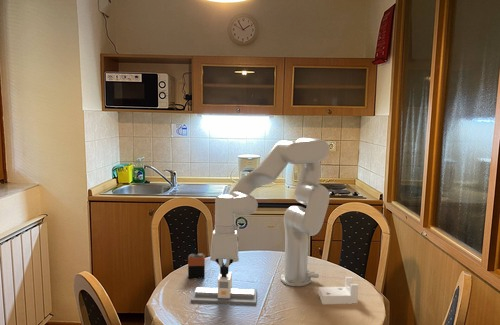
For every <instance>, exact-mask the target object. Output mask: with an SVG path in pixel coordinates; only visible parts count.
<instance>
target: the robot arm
mask: <svg viewBox="0 0 500 325" xmlns="http://www.w3.org/2000/svg"><path fill="white" fill-rule="evenodd" d="M329 155H330V146H329V143H328V142H327V141H326V140H325V139H321V138H312V137H300V138H298V139H297V140H295V141H292V140H291V141H290V140H280V141H278V142H277V143H275V145H274V146H273V147H272V148H271V150H270V151H269V152H268V154H267V155H266V156H265V157H264V159H263V160H262V161H261V163H259V165H258V166H257V167H256V168H254V169H253V170H252V171H250V172H249V173H247V174H246V175H244V176H243V177H242V178H241V179H240V180H238V182H237V183H235V184H236V185H235V186H234V187H233V188H232V189H231V190H230V192H229V194H220V195H217V196H216V197H215V198H214V199H215V200H214V202H215V203H214V205H215V206H214V230H213V231H212V235H211V242H210V258H209V260H210V261H212V262H216V264H218V266H219V274H222V277H226V275H227V274H228V272H229V267H230V265H232V264H233V263H238V262H239V260H240V258H239V235H238V231H237V230H239V229H240V225H237V224H236V216H237V215H238V216H239V215H240V216H250V215H253V214H254V213H255V212H256V211H257V210H258V206H259V204H258V200H257V199H256V198H255V197H254V196H252V195H251V193H252V192H254V191H256V189H257V188H259V187H262V186H265V185H269V184H272V183H274V182H275V181H276V180H277V178H279V176H280V175H281V174H282V172H283V171H284V170H285V168H286V167H287V165H289V164H292V165H300V171H299V174H298V175H299V176H298V178H297V182H296V186H295V189H294V192H293V197H294V200H295V201H297V202H298V203H300V204H302V205H304V206H306V208H305V207H303V206H299V205H291V206H289V207H288V208H286V210H285V212H284V215H283V225H284V232H285V234H284V235H285V239H284V240H285V241H284V242H285V244H284V246H285V247H284V270H283V271H284V272H283V273H282V274H281V275H280V282H282V283H283V284H285V285H287V286H292V287H304V286H308V285H309V284H310V283H311V282H312V281H311V279H312V278H313V279H319V273H318V272H316V271H314V270H313V271H310V270H309V268H308V260H309V258H308V257H309V236H310V237H311V236H315V235H317V234H319V232H320V231H321V229H322V226H323V224H324V220H325V218H326V215H327V210H328V208H329V203H330V192H329V190H328V189H327V188H326V186H324V185H322V184H320V180H321V176H322V164H321V161H323V160H326V159H327V157H328V156H329ZM224 260H226V261H225V263H224Z"/></svg>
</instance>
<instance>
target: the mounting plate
mask: <svg viewBox="0 0 500 325" xmlns="http://www.w3.org/2000/svg"><path fill="white" fill-rule="evenodd" d="M196 288H202V287H200V286H199V287H195V288H194V291H193V293H192V296H191V298H190V303H198V304H201V303H202V304H226V305H227V304H228V305H248V306H249V305H252V306H256V305H257V293H258V292H257V290H258V289H254V288H253V289H252V288H248V289H249V290H254V298H245V297H230V298H218V296H195V291H196Z"/></svg>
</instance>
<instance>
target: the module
mask: <svg viewBox="0 0 500 325" xmlns="http://www.w3.org/2000/svg"><path fill="white" fill-rule="evenodd" d="M232 285H233V271H228V274H227V275H226V277H222V274H220V273H219V274H218V277H217V288H218V298H230V293H231V289H233V286H232Z"/></svg>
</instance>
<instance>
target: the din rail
mask: <svg viewBox="0 0 500 325" xmlns="http://www.w3.org/2000/svg"><path fill="white" fill-rule="evenodd" d="M195 288H196V287H195ZM249 289H250V288H248V289H247V288H246V289H245V288H232V289H231V293H230V297H245V298H254V290H255V289H254V290H249ZM195 296H218V287H201V288H196V291H195Z"/></svg>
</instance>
